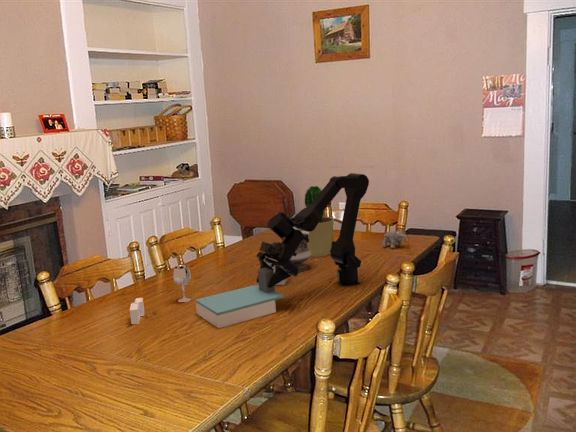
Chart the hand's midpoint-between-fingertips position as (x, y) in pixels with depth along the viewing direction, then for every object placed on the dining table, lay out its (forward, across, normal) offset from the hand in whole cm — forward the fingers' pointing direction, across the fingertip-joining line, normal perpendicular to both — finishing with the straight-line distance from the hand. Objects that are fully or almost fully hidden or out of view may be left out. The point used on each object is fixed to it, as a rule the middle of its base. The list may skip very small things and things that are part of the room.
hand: (262, 284), depth 190 cm
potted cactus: (-31, -42, +42) cm, 67 cm away
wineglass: (+18, -24, -8) cm, 31 cm away
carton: (+12, 0, -2) cm, 13 cm away
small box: (-7, -18, +17) cm, 26 cm away
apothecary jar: (-17, -29, +28) cm, 43 cm away
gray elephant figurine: (-52, -25, +63) cm, 85 cm away
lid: (+10, 0, -2) cm, 11 cm away
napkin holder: (+31, -18, -20) cm, 41 cm away
